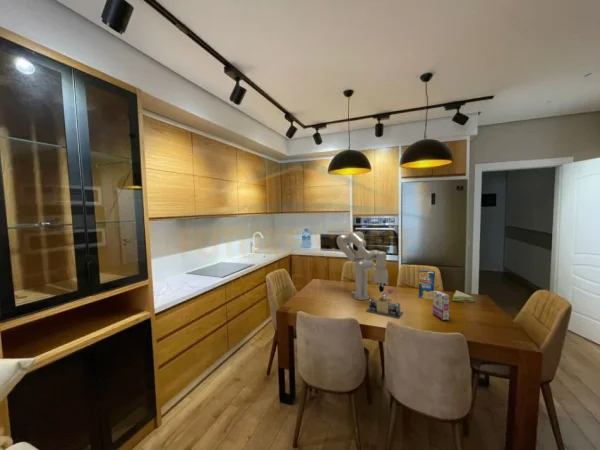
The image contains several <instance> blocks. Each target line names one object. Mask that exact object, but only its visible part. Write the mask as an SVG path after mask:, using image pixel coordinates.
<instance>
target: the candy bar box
mask: <svg viewBox="0 0 600 450" xmlns="http://www.w3.org/2000/svg"><path fill="white" fill-rule="evenodd" d="M450 301H451V300H450V295H449V294H447V293H445V292H443V291H440V290H435V291H433V300H432V315H434V316H436V317H437V318H439V319H440V320H442V321H450Z"/></svg>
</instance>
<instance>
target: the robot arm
mask: <svg viewBox="0 0 600 450" xmlns="http://www.w3.org/2000/svg"><path fill="white" fill-rule="evenodd" d="M350 244H353V245H354V246H355V247H356V248H357V250H355V249H354V248H353V247H352V246H351V245H350ZM336 245H337V247H338V248H339V249H340V250H341V251H342V252H343V253H344V254H345V256H346V257H347V259H349V261H350V262H352V263H354V264H353V267H354V274H355V275H354V276H355V291H354V290H351V294H352V295H353V298H354V299H356V300H360V301H362V300H363V301H366V300H370V295H368V275H367V273H366V271H372V270H373V269H374V268H375V269H374V273H373V282H374V284H376V285H377V286H378V291H379V292H380V293H383V292H384V290H385V289H384V287H385V286H388V285H389V284H390V283H389V278H390V277H389V272H388V269H387V253H386V251H381V250H378V249H372V250H367V249H366V248H365V247H366V245H367V241H366V240H365V235H364V233H363V232H362V231H352V232H349V233H345V234H340V235H338V236H337V237H336ZM374 261H375V263H374Z"/></svg>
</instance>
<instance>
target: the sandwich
mask: <svg viewBox="0 0 600 450" xmlns="http://www.w3.org/2000/svg"><path fill="white" fill-rule="evenodd" d="M454 292H455V293H454V294H453V295H452V299H451V300H453V302H458V303H459V302H462V303H471V304H473V303H474V301H475V299H473V296H472V295H469V294H467V293H464V292H463V291H459V290H457V289H456V290H455V291H454ZM451 300H450V301H451Z"/></svg>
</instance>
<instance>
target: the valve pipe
mask: <svg viewBox="0 0 600 450" xmlns="http://www.w3.org/2000/svg"><path fill="white" fill-rule="evenodd" d="M365 312H366V313H370V314H375V315H380V316H384V317H389V318H393V319H400V318H401V317H402V316H403V314H404V311H401V303H400V302H396V303H393V302H392V299H391V298H382V297H379V298H378V299H377V300H376V299H374V298H372V297H369V299H368V308H367V309H366V310H365Z"/></svg>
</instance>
